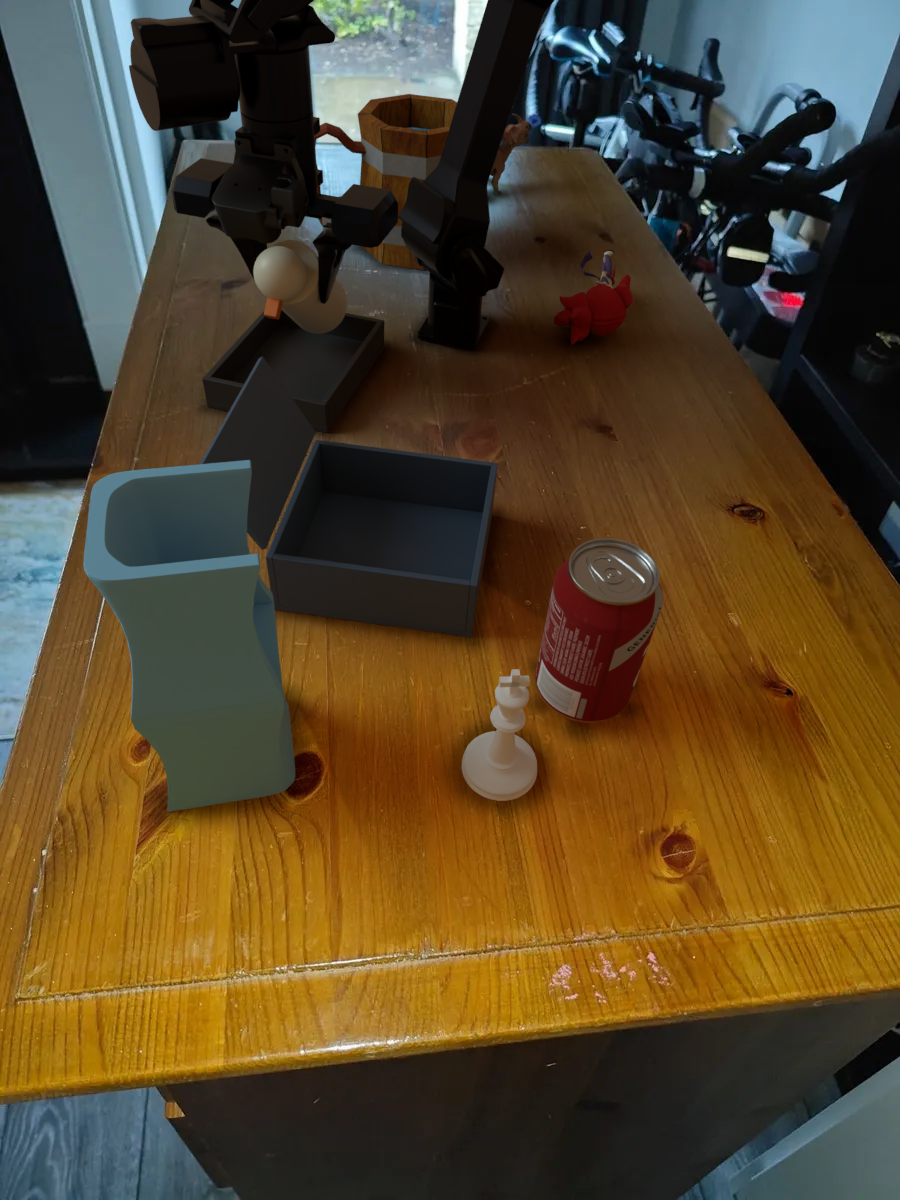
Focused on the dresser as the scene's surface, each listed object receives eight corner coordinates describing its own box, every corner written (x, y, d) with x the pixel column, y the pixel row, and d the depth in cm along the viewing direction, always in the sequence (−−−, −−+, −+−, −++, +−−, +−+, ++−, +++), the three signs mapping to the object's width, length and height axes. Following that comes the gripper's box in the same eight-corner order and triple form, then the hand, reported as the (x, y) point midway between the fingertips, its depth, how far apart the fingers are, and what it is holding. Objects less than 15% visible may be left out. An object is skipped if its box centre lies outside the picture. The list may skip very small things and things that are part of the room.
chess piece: (458, 737, 56) (468, 640, 49) (531, 734, 57) (551, 637, 49) (465, 803, 53) (477, 710, 46) (542, 799, 53) (566, 706, 46)
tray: (277, 325, 91) (274, 298, 89) (384, 347, 89) (384, 320, 87) (207, 406, 80) (201, 378, 78) (327, 433, 78) (325, 405, 76)
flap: (199, 469, 54) (194, 471, 54) (266, 548, 59) (261, 550, 59) (262, 356, 64) (258, 358, 64) (316, 432, 68) (312, 433, 68)
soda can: (567, 743, 56) (599, 624, 48) (515, 670, 60) (537, 549, 51) (648, 707, 59) (693, 588, 50) (593, 640, 63) (626, 519, 54)
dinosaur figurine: (494, 172, 123) (500, 102, 117) (526, 184, 121) (534, 113, 114) (432, 198, 116) (434, 124, 109) (464, 211, 114) (469, 137, 107)
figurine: (637, 288, 99) (632, 355, 89) (565, 293, 101) (553, 359, 91) (636, 234, 95) (631, 298, 85) (561, 240, 97) (548, 304, 87)
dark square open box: (471, 637, 62) (477, 586, 58) (273, 609, 63) (265, 557, 59) (492, 514, 72) (498, 462, 68) (319, 491, 73) (315, 439, 69)
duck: (299, 271, 85) (248, 215, 73) (353, 281, 84) (311, 227, 72) (282, 344, 86) (229, 301, 73) (336, 355, 85) (291, 314, 72)
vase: (297, 791, 53) (261, 565, 38) (167, 812, 51) (78, 586, 37) (287, 691, 58) (252, 458, 43) (168, 708, 57) (91, 472, 42)
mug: (458, 220, 111) (465, 93, 100) (478, 268, 102) (489, 134, 92) (308, 224, 108) (298, 94, 97) (316, 274, 99) (306, 136, 88)
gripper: (116, 125, 63) (159, 318, 75) (351, 164, 60) (358, 358, 72) (188, 83, 71) (217, 264, 82) (400, 115, 68) (399, 298, 79)
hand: (293, 295), depth 78 cm, fingers closed on duck, 6 cm apart
